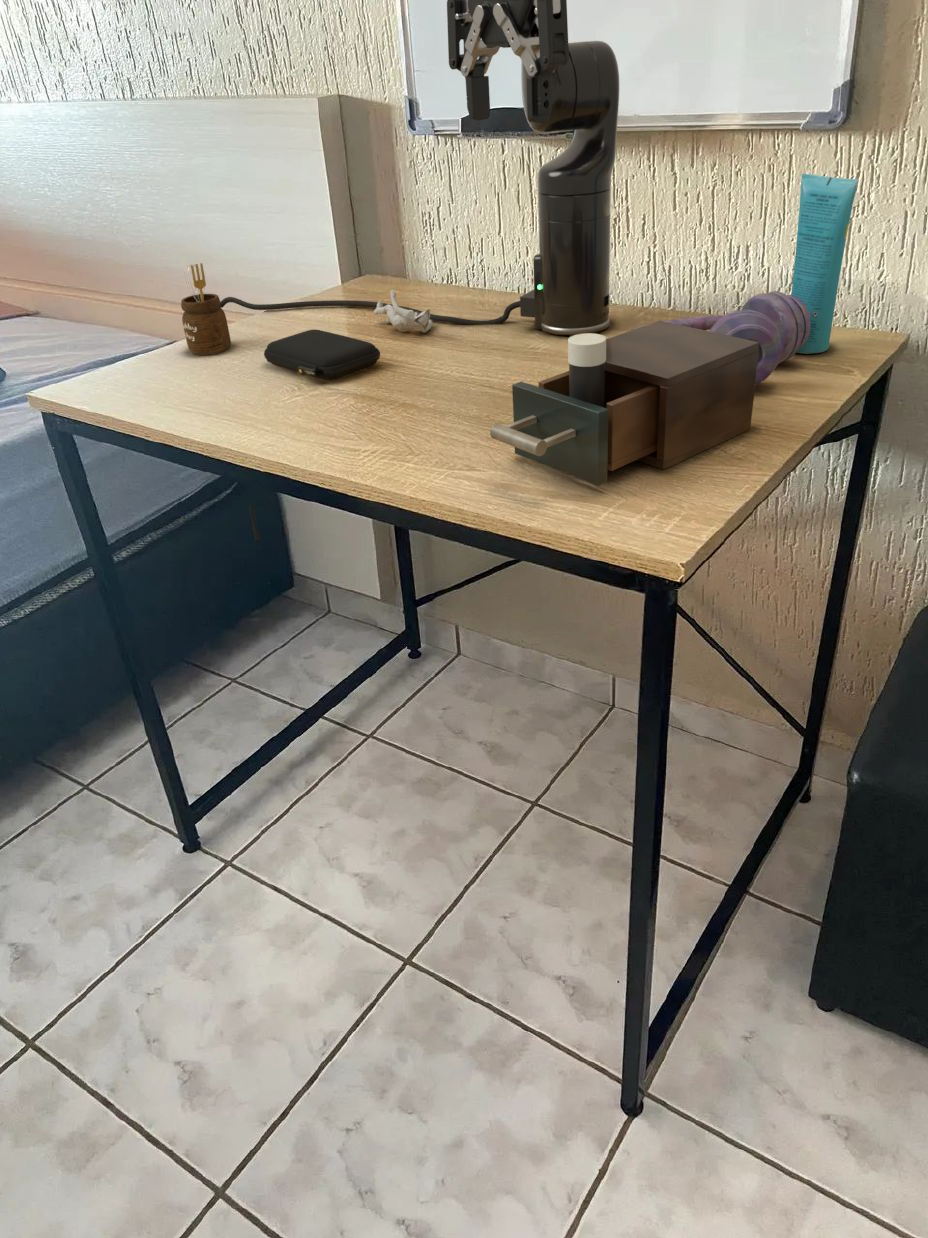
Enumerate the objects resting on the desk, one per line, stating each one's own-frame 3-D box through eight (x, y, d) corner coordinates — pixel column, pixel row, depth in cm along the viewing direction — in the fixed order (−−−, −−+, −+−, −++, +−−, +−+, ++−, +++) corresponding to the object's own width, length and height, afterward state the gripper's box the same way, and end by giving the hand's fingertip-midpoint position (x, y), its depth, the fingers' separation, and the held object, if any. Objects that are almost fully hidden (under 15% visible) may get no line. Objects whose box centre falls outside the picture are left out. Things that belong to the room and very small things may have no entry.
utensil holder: (226, 340, 135) (208, 252, 128) (237, 351, 130) (218, 260, 123) (185, 348, 133) (164, 259, 126) (194, 359, 128) (173, 267, 121)
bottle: (562, 448, 89) (561, 342, 83) (577, 435, 91) (577, 331, 86) (596, 453, 87) (597, 346, 82) (610, 440, 90) (612, 334, 84)
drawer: (557, 505, 81) (555, 429, 78) (474, 469, 89) (469, 399, 85) (686, 446, 90) (690, 375, 86) (601, 418, 97) (602, 352, 94)
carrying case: (252, 367, 123) (322, 389, 114) (248, 344, 121) (319, 364, 112) (317, 346, 129) (388, 365, 120) (313, 324, 127) (385, 341, 118)
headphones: (822, 350, 111) (666, 356, 123) (820, 278, 108) (660, 291, 119) (766, 400, 99) (599, 401, 111) (762, 321, 95) (589, 330, 107)
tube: (845, 349, 113) (871, 175, 103) (821, 359, 111) (846, 181, 100) (791, 338, 118) (811, 170, 108) (768, 347, 116) (786, 177, 105)
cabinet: (663, 469, 88) (668, 378, 83) (570, 436, 96) (569, 351, 92) (750, 429, 95) (759, 342, 90) (656, 401, 103) (660, 320, 98)
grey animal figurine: (410, 324, 139) (457, 311, 129) (398, 353, 138) (443, 342, 128) (369, 293, 134) (414, 277, 125) (356, 322, 134) (400, 309, 124)
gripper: (589, -99, 79) (588, 117, 88) (480, -80, 89) (489, 114, 98) (524, -99, 76) (530, 128, 84) (417, -79, 85) (432, 123, 94)
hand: (508, 120), depth 91 cm, fingers open, 8 cm apart
